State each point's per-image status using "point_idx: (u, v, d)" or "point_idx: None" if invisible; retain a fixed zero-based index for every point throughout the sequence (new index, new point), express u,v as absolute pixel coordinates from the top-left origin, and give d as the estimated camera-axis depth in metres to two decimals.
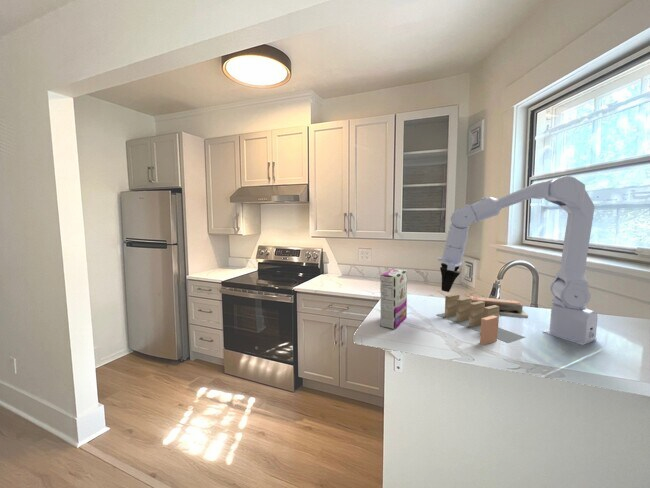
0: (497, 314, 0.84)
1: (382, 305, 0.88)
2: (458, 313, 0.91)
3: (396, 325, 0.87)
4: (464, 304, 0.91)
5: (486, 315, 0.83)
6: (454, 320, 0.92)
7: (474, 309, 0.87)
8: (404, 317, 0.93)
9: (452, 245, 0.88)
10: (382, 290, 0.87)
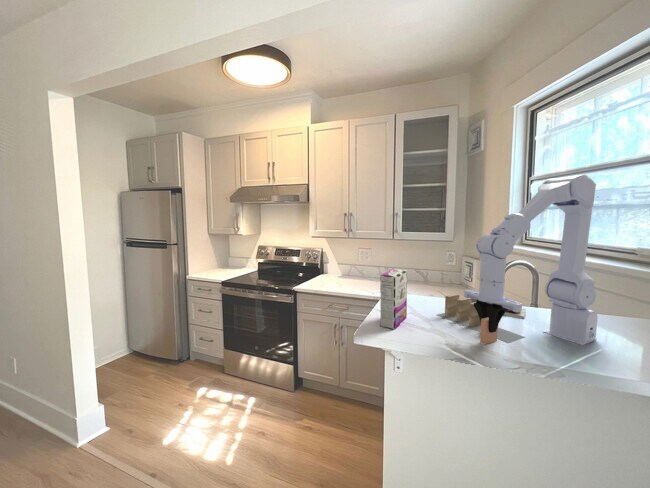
0: None
1: (382, 305, 0.88)
2: (458, 313, 0.91)
3: (396, 325, 0.87)
4: (464, 304, 0.91)
5: None
6: (454, 320, 0.92)
7: (474, 309, 0.87)
8: (404, 317, 0.93)
9: (497, 280, 0.73)
10: (382, 290, 0.87)
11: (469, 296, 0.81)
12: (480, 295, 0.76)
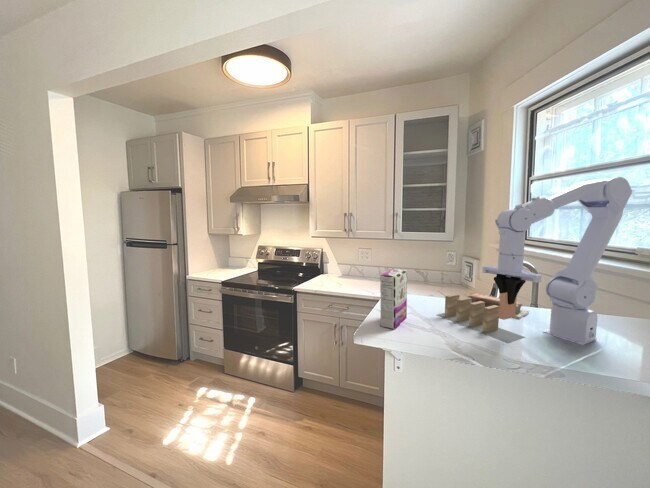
0: (497, 314, 0.84)
1: (382, 305, 0.88)
2: (458, 313, 0.91)
3: (396, 325, 0.87)
4: (464, 304, 0.91)
5: (486, 315, 0.83)
6: (454, 320, 0.92)
7: (474, 309, 0.87)
8: (404, 317, 0.93)
9: (515, 253, 0.75)
10: (382, 290, 0.87)
11: (488, 271, 0.84)
12: (499, 269, 0.78)
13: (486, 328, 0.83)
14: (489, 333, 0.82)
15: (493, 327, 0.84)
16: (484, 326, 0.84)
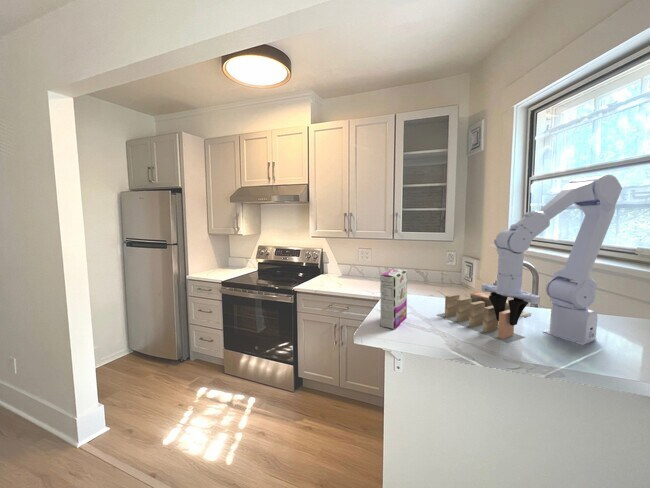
0: None
1: (382, 305, 0.88)
2: (458, 313, 0.91)
3: (396, 325, 0.87)
4: (464, 304, 0.91)
5: (486, 315, 0.83)
6: (454, 320, 0.92)
7: (474, 309, 0.87)
8: (404, 317, 0.93)
9: (513, 274, 0.76)
10: (382, 290, 0.87)
11: (487, 290, 0.85)
12: (498, 289, 0.79)
13: (486, 328, 0.83)
14: (489, 333, 0.82)
15: (493, 327, 0.84)
16: (484, 326, 0.84)
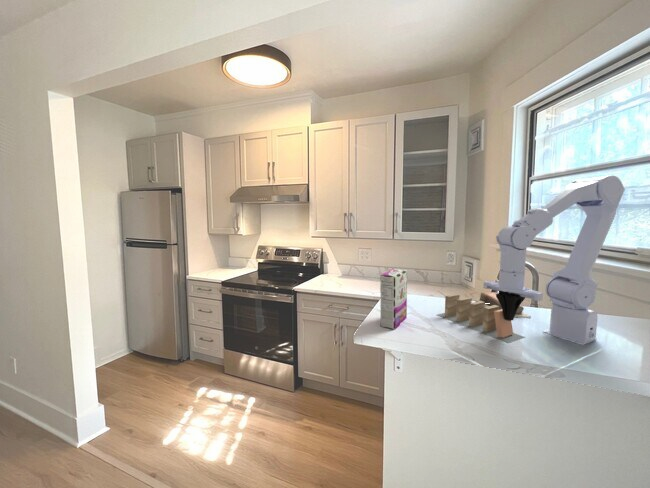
0: None
1: (382, 305, 0.88)
2: (458, 313, 0.91)
3: (396, 325, 0.87)
4: (464, 304, 0.91)
5: (486, 315, 0.83)
6: (454, 320, 0.92)
7: (474, 309, 0.87)
8: (404, 317, 0.93)
9: (516, 270, 0.75)
10: (382, 290, 0.87)
11: (489, 287, 0.84)
12: (501, 285, 0.78)
13: (486, 328, 0.83)
14: (489, 333, 0.82)
15: (493, 327, 0.84)
16: (484, 326, 0.84)
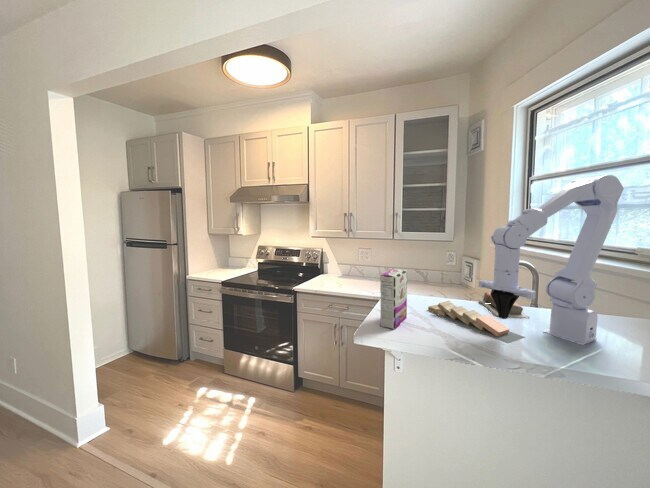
0: (479, 314, 0.90)
1: (382, 305, 0.88)
2: (448, 312, 0.95)
3: (396, 325, 0.87)
4: (445, 305, 0.97)
5: (468, 317, 0.88)
6: (454, 320, 0.92)
7: (455, 311, 0.92)
8: (404, 317, 0.93)
9: (509, 269, 0.77)
10: (382, 290, 0.87)
11: (484, 286, 0.85)
12: (495, 284, 0.80)
13: (479, 325, 0.85)
14: (489, 333, 0.82)
15: None
16: (477, 325, 0.85)
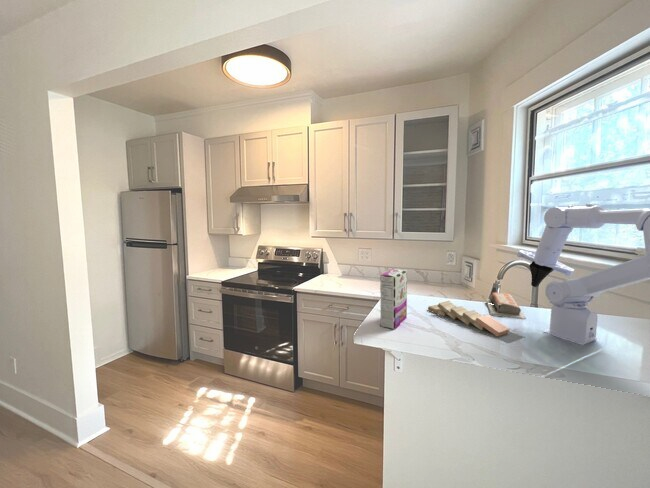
0: (479, 314, 0.90)
1: (382, 305, 0.88)
2: (448, 312, 0.95)
3: (396, 325, 0.87)
4: (445, 305, 0.97)
5: (468, 317, 0.88)
6: (454, 320, 0.92)
7: (455, 311, 0.92)
8: (404, 317, 0.93)
9: (540, 243, 0.86)
10: (382, 290, 0.87)
11: (522, 256, 0.92)
12: (537, 259, 0.87)
13: (479, 325, 0.85)
14: (489, 333, 0.82)
15: None
16: (477, 325, 0.85)
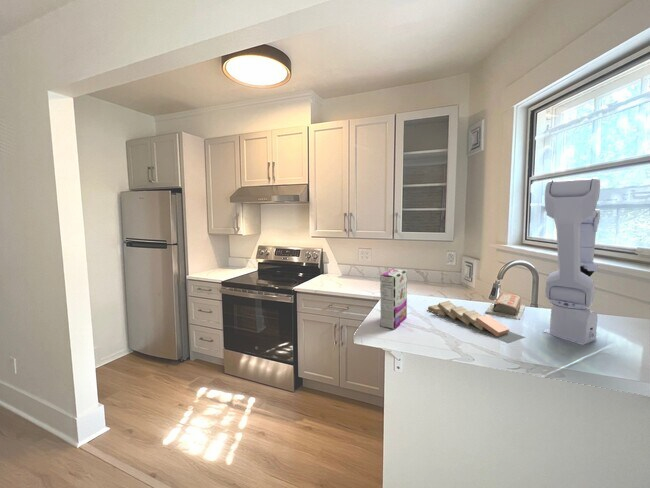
0: (479, 314, 0.90)
1: (382, 305, 0.88)
2: (448, 312, 0.95)
3: (396, 325, 0.87)
4: (445, 305, 0.97)
5: (468, 317, 0.88)
6: (454, 320, 0.92)
7: (455, 311, 0.92)
8: (404, 317, 0.93)
9: None
10: (382, 290, 0.87)
11: None
12: None
13: (479, 325, 0.85)
14: (489, 333, 0.82)
15: None
16: (477, 325, 0.85)
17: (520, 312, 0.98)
